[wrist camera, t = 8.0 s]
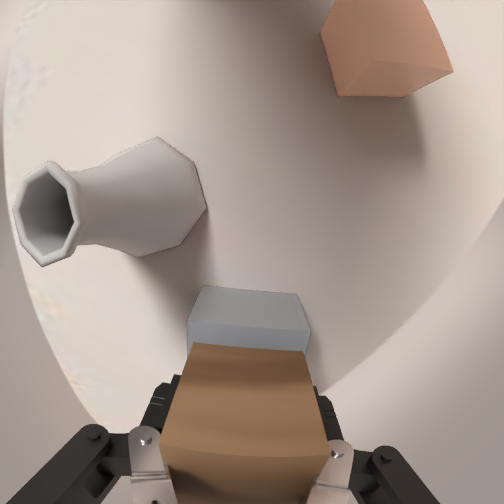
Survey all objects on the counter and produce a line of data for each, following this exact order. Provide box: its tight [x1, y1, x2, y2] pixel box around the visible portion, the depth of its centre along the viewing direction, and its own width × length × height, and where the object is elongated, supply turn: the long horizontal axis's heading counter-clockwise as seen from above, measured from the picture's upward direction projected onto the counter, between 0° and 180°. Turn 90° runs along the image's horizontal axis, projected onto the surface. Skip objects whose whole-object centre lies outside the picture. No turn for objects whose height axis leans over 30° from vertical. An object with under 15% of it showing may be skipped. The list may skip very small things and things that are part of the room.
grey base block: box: [187, 285, 311, 358], centre depth 16 cm, size 6×6×5 cm
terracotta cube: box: [320, 0, 453, 97], centre depth 11 cm, size 5×5×6 cm
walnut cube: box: [158, 342, 331, 504], centre depth 10 cm, size 5×5×6 cm
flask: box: [12, 137, 207, 267], centre depth 12 cm, size 7×7×10 cm
